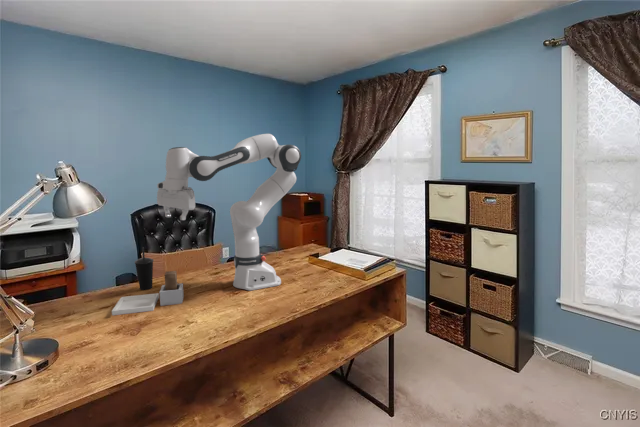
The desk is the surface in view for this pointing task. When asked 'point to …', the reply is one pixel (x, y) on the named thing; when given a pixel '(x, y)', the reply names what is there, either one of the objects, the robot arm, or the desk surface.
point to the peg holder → (171, 295)
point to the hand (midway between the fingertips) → (175, 218)
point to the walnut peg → (171, 280)
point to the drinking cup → (144, 272)
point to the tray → (135, 304)
